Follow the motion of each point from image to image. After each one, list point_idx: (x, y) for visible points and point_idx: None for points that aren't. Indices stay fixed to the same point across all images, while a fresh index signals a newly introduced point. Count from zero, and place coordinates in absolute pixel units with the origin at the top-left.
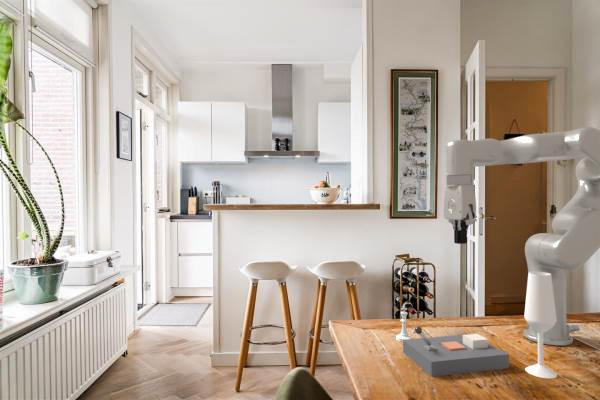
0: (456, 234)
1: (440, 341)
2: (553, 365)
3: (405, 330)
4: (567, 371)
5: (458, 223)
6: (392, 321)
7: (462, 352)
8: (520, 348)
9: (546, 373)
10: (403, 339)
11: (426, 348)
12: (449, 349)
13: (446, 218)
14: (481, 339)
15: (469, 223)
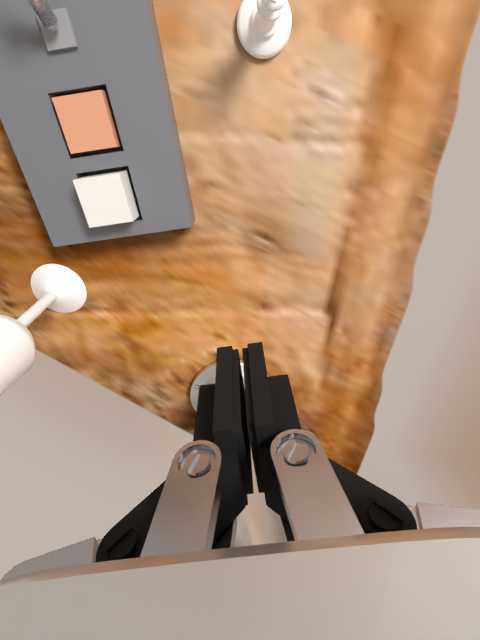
0: (226, 394)
1: (127, 100)
2: (96, 328)
3: (259, 17)
4: (71, 334)
5: (195, 520)
6: (446, 47)
7: (45, 130)
8: (181, 318)
9: (37, 290)
10: (240, 7)
11: None
12: (57, 97)
13: (461, 532)
14: (86, 210)
15: (8, 572)
